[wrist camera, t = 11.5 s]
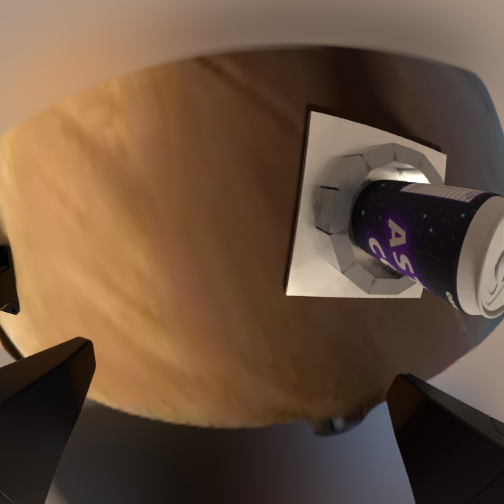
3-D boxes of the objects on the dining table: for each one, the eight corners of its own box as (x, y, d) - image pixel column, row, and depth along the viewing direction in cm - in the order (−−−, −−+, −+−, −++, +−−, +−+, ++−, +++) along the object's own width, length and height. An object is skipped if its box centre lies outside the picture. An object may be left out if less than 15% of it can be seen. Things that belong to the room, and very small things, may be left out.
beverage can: (332, 203, 19) (464, 247, 7) (390, 165, 18) (526, 175, 7) (364, 267, 20) (476, 350, 9) (415, 228, 20) (534, 276, 8)
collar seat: (284, 291, 20) (295, 310, 18) (308, 112, 17) (324, 102, 14) (416, 295, 22) (436, 308, 19) (442, 155, 19) (466, 155, 16)
